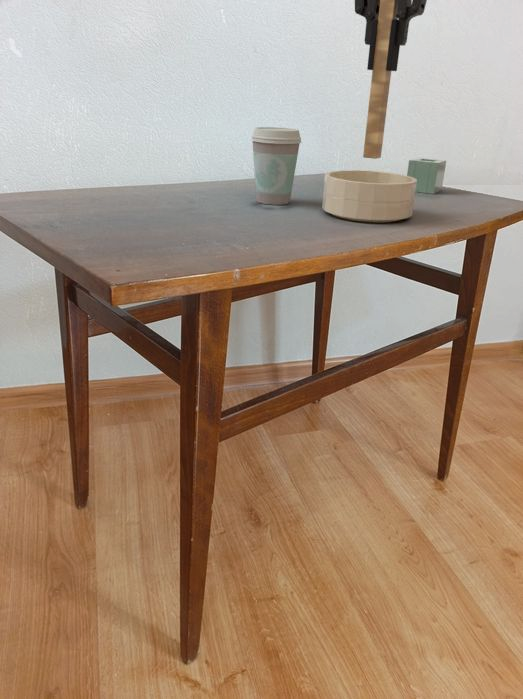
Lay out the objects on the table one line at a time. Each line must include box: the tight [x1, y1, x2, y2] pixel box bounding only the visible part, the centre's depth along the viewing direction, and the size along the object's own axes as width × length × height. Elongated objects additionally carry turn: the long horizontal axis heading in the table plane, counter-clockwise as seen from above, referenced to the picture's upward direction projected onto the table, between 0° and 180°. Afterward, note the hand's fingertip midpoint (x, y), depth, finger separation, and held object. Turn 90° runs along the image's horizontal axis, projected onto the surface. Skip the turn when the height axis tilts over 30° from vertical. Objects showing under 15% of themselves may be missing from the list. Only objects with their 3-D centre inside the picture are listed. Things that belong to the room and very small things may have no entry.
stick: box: [362, 0, 398, 160], centre depth 88 cm, size 2×2×22 cm
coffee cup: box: [250, 126, 302, 206], centre depth 101 cm, size 8×8×12 cm
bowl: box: [321, 169, 417, 223], centre depth 95 cm, size 14×14×6 cm
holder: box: [406, 157, 447, 195], centre depth 121 cm, size 6×6×6 cm
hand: (382, 70), depth 88 cm, fingers closed on stick, 2 cm apart
